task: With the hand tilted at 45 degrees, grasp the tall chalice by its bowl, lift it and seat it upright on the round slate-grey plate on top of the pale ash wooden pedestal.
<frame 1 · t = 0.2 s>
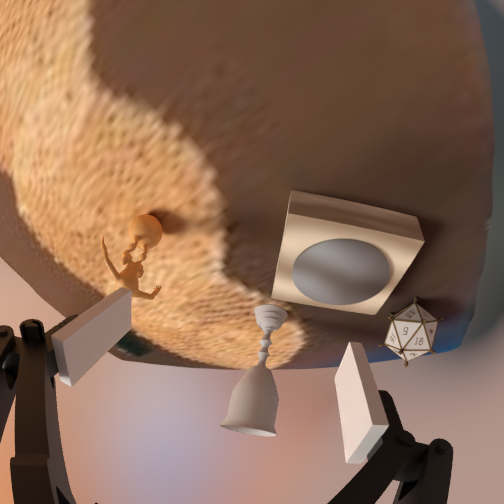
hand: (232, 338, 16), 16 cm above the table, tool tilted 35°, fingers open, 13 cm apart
pedestal: (340, 249, 31), on the table
game die: (408, 306, 37), on the table
figurine: (158, 216, 33), on the table
chalice: (271, 312, 44), on the table
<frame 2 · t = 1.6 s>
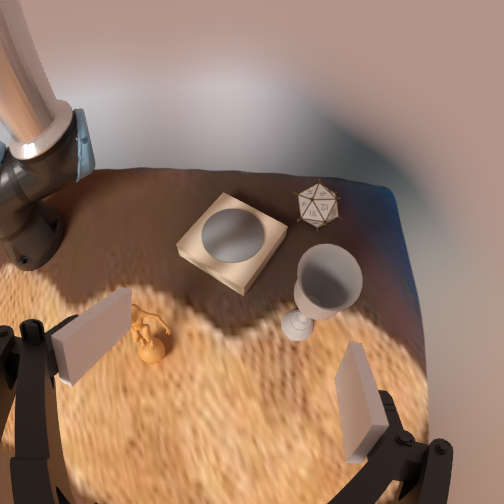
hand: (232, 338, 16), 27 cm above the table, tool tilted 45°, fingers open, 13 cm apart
pedestal: (233, 246, 50), on the table
game die: (313, 219, 54), on the table
figurine: (155, 346, 41), on the table
chalice: (297, 325, 44), on the table
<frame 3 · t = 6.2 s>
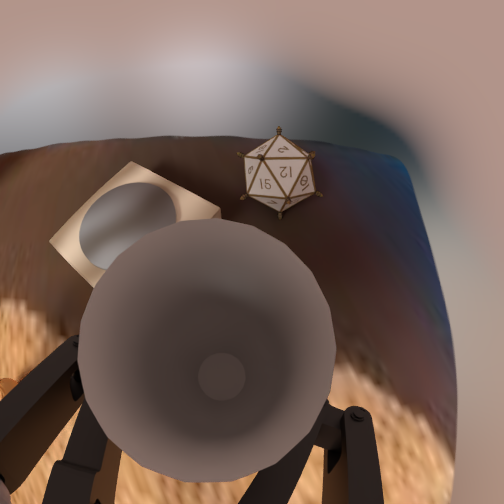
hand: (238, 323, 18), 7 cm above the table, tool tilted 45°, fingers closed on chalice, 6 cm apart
pedestal: (136, 243, 29), on the table
game die: (275, 199, 33), on the table
figurine: (22, 391, 20), on the table
chalice: (228, 387, 23), on the table, touching gripper
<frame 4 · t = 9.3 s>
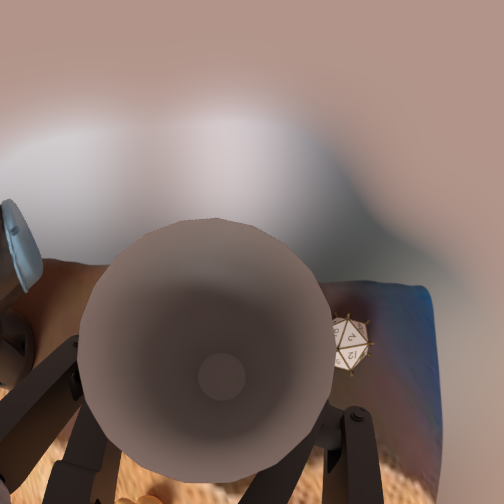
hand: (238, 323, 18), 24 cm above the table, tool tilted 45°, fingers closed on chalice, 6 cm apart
game die: (334, 349, 41), on the table
figurine: (153, 497, 28), on the table
chalice: (228, 387, 23), point 17 cm above the table, touching gripper
when the fingers open (13 cm above the table, at t = 12.8 s): chalice drops 1 cm, resting on pedestal.
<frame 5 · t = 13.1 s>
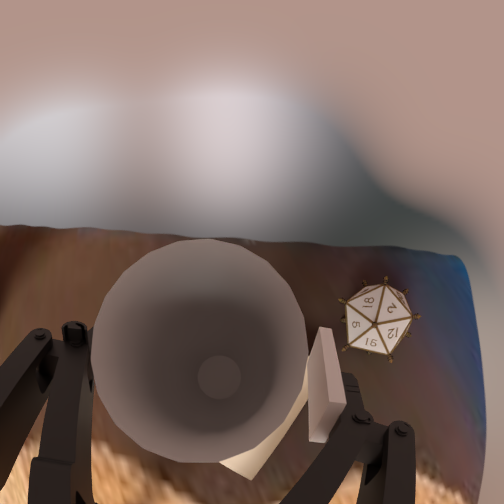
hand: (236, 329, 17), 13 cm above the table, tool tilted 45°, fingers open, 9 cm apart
pedestal: (231, 390, 27), on the table
game die: (362, 330, 31), on the table
chalice: (228, 388, 24), point 4 cm above the table, touching pedestal
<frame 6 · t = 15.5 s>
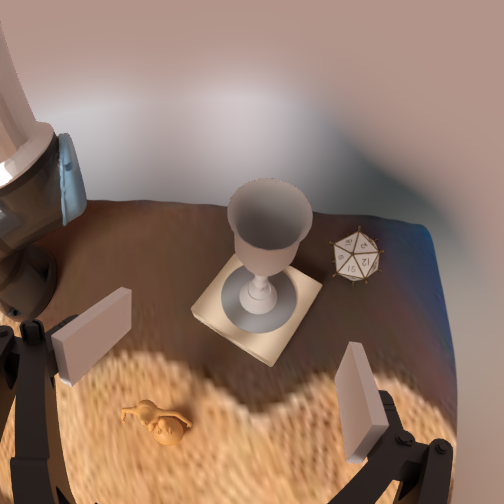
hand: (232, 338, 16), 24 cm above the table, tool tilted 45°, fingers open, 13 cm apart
pedestal: (257, 306, 42), on the table
game die: (348, 269, 46), on the table
figurine: (171, 423, 33), on the table
chalice: (258, 296, 39), point 4 cm above the table, touching pedestal
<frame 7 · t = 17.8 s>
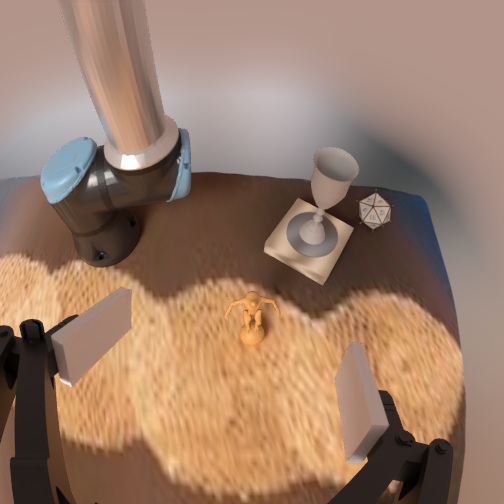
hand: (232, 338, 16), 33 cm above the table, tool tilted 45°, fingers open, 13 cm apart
pedestal: (308, 244, 58), on the table
game die: (368, 222, 62), on the table
figurine: (251, 331, 49), on the table
chalice: (312, 233, 55), point 4 cm above the table, touching pedestal
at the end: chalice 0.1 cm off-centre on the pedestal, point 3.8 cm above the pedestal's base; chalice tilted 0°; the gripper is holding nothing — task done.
